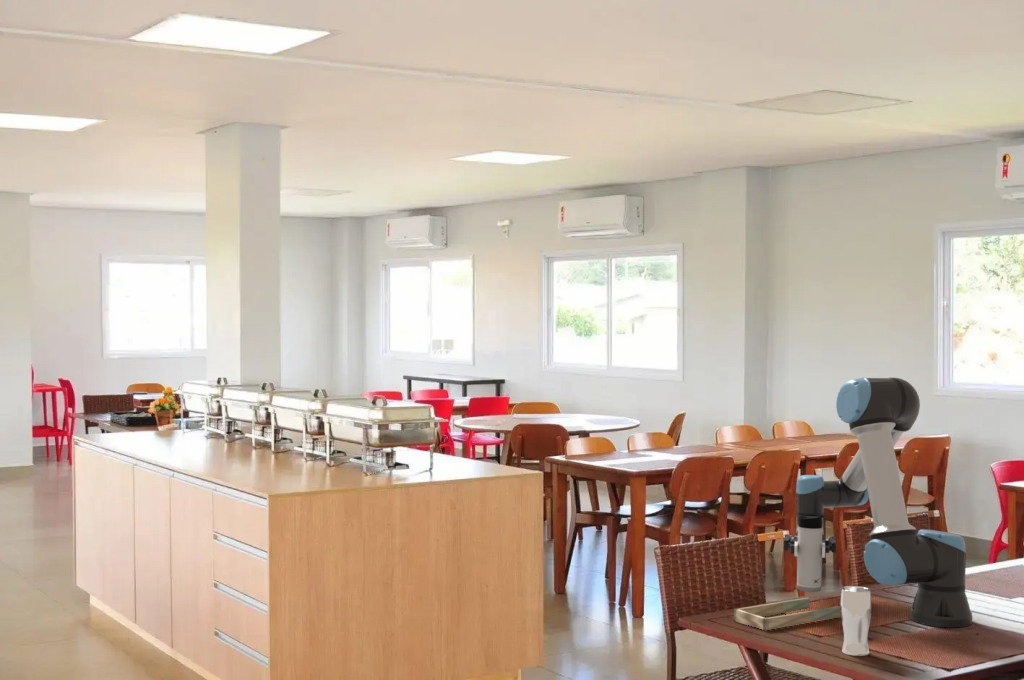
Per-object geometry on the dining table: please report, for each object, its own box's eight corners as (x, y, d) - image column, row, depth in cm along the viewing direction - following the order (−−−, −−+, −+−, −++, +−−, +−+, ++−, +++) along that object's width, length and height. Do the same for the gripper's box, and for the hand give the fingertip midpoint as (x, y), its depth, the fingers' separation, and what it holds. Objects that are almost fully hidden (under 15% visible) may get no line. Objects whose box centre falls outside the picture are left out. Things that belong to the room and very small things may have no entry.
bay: (840, 618, 305) (840, 606, 305) (765, 631, 292) (765, 619, 292) (806, 608, 315) (806, 597, 315) (733, 620, 302) (733, 609, 302)
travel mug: (822, 593, 304) (824, 516, 303) (796, 591, 305) (798, 515, 305) (822, 587, 310) (823, 513, 309) (796, 586, 311) (798, 511, 311)
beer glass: (835, 648, 276) (836, 585, 276) (864, 648, 276) (864, 585, 276) (846, 657, 269) (846, 592, 269) (875, 656, 270) (876, 592, 269)
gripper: (845, 551, 322) (848, 568, 300) (774, 547, 327) (771, 564, 305) (845, 524, 322) (848, 539, 300) (774, 521, 327) (771, 535, 305)
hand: (809, 551), depth 302 cm, fingers closed on travel mug, 6 cm apart
